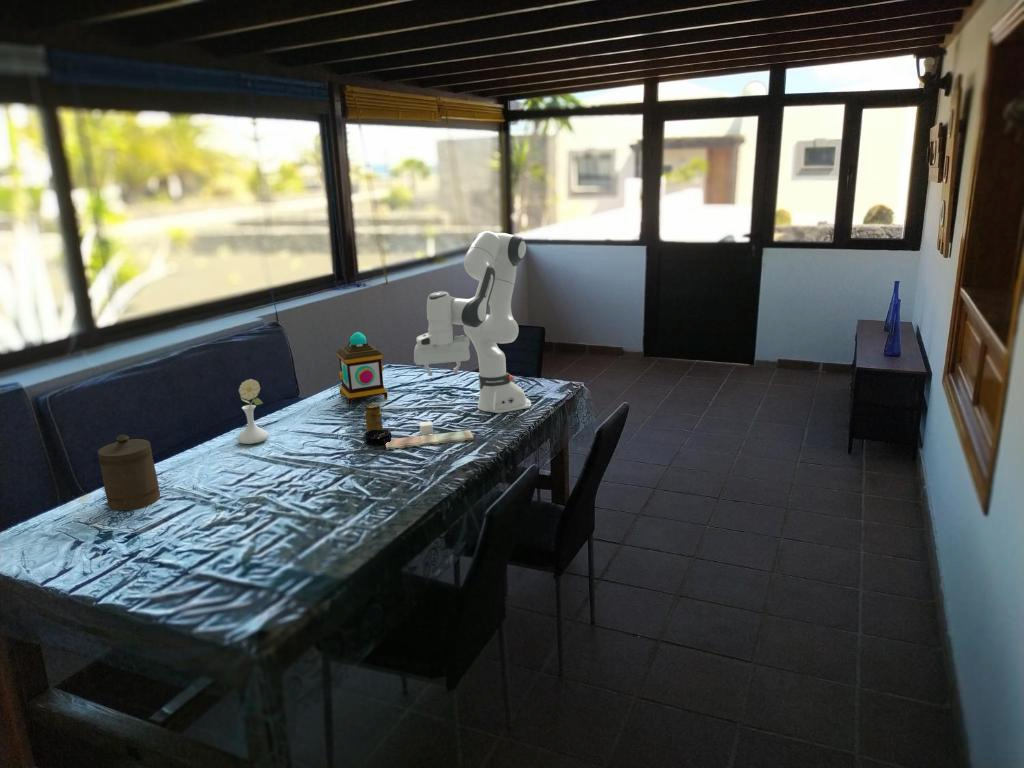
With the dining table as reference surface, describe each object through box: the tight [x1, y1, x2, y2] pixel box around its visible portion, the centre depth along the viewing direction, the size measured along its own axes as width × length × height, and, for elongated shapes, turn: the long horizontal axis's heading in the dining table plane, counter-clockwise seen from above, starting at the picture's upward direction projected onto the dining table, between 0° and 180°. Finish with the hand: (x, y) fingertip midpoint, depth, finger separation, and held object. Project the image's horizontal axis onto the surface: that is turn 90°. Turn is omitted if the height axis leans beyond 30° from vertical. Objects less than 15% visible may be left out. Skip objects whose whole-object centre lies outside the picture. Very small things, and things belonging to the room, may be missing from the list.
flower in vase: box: [236, 378, 270, 445], centre depth 279 cm, size 13×11×25 cm
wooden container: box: [97, 434, 161, 512], centre depth 232 cm, size 15×15×22 cm
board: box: [385, 429, 475, 451], centre depth 275 cm, size 32×8×1 cm, turn 103°
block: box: [419, 420, 434, 436], centre depth 283 cm, size 4×4×4 cm
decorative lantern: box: [336, 331, 388, 406], centre depth 327 cm, size 20×20×30 cm
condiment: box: [362, 403, 384, 437], centre depth 281 cm, size 7×8×12 cm
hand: (443, 374), depth 271 cm, fingers open, 8 cm apart
